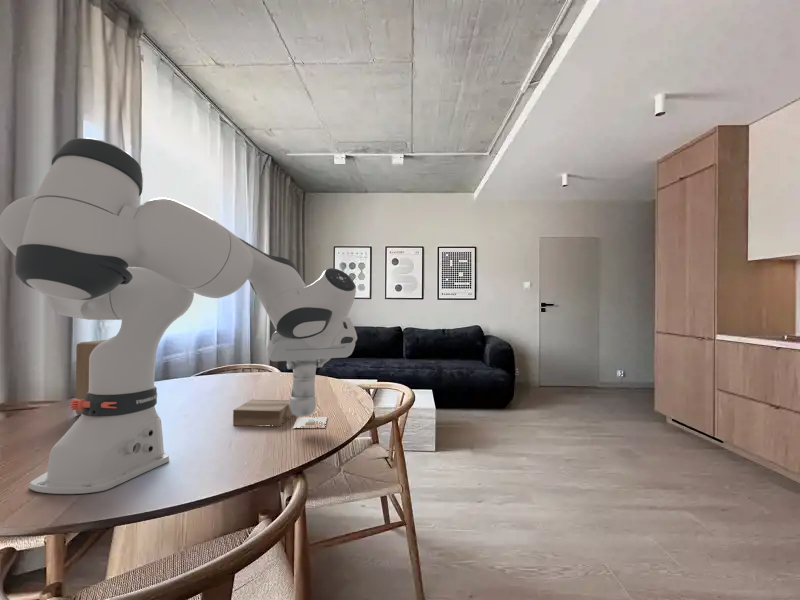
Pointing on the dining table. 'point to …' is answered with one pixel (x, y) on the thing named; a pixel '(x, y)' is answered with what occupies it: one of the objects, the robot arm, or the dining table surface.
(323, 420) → the page
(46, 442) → the dining table surface
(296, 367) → the plastic bottle
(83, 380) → the block
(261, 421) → the base block
